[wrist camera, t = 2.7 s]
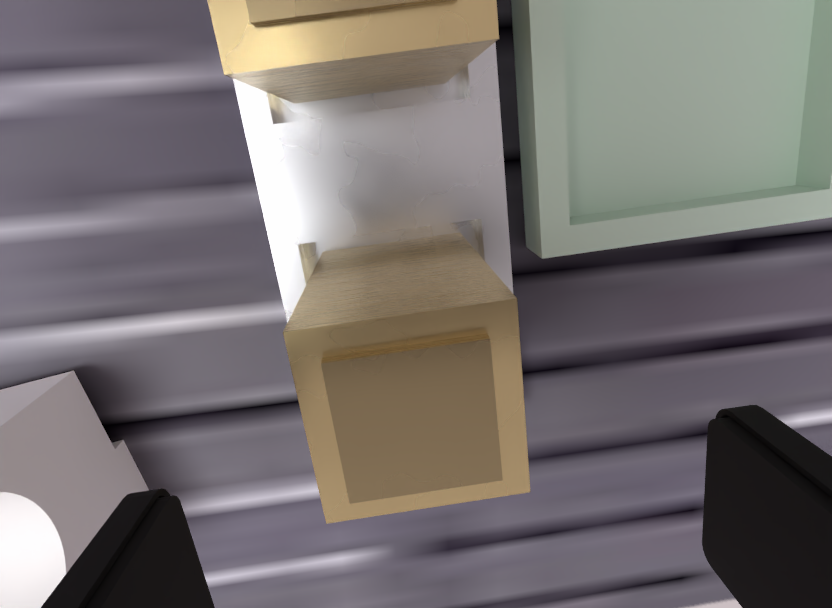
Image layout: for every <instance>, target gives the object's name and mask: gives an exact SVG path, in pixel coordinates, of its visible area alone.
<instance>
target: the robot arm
mask: <svg viewBox="0 0 832 608" xmlns="http://www.w3.org/2000/svg"><path fill="white" fill-rule="evenodd" d="M702 546H703V550H704V553H705V556H706V558H707V560H708V562H709V564H710V566H711V567H712V568H713V570H714V571H715V572H716V574H717V575H718V576H719V578H720V579H721V580H722V581H723V583H724V584H725V585H726V587H727V588H728V589H729V591H730V592H731V593H732V595H733V596H734V597H735V598H736V600H737V601H738V602H739V604H740V605H741V606H742V607H743V608H832V457H831V456H830V455H829V454H827V453H826V452H824V451H823V450H821V449H820V448H819V447H817V446H816V445H814V444H813V443H811V442H810V441H809V440H807V439H806V438H804V437H803V436H801V435H800V434H799V433H797V432H796V431H794V430H793V429H791V428H790V427H789V426H787V425H786V424H784V423H783V422H782V421H780V420H779V419H777V418H776V417H774V416H773V415H772V414H770V413H769V412H767V411H766V410H764V409H763V408H761V407H759V406H757V405H749V406H742V407H735V408H728V409H722V410H720V411H719V412H718V413H717V415H716V419H713V420H711V421H710V422H709V425H708V436H707V456H706V476H705V496H704V516H703V536H702ZM41 608H215V607H214V604H213V601H212V598H211V595H210V592H209V589H208V586H207V583H206V580H205V576H204V573H203V570H202V567H201V564H200V561H199V558H198V555H197V552H196V549H195V545H194V542H193V539H192V536H191V533H190V530H189V527H188V524H187V521H186V518H185V514H184V511H183V508H182V505H181V502H180V500H179V498H178V497H177V496H170V494H169V493H168V492H167V491H166V490H165V489H156V490H149V491H142V492H135V493H130V494H127V495H126V496H125V497H124V498H123V499H122V501H121V502H120V503H119V505H118V506H117V507H116V508H115V510H114V511H113V512H112V514H111V515H110V516H109V518H108V519H107V520H106V522H105V523H104V524H103V526H102V527H101V528H100V530H99V531H98V532H97V534H96V535H95V536H94V538H93V539H92V540H91V542H90V543H89V544H88V546H87V547H86V548H85V550H84V551H83V552H82V554H81V555H80V556H79V558H78V559H77V560H76V561H75V563H74V564H73V565H72V567H71V568H70V569H69V571H68V572H67V573H66V575H65V576H64V577H63V579H62V580H61V581H60V583H59V584H58V585H57V587H56V588H55V589H54V591H53V592H52V593H51V595H50V596H49V597H48V599H47V600H46V601H45V603H44V604H43V605H42V607H41Z"/></svg>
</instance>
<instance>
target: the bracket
mask: <svg viewBox="0 0 832 608" xmlns="http://www.w3.org/2000/svg"><path fill="white" fill-rule="evenodd" d="M142 491H149V489H148V487H147V485H146V483H145V481H144V479H143V477H142V475H141V473H140V471H139V469H138V468H137V466H136V464H135V462H134V460H133V458H132V456H131V454H130V452H129V450H128V448H127V446H126V444H125V442H124V440H120V441H116V442H113V443H111V441H110V439H109V437H108V435H107V433H106V431H105V429H104V427H103V425H102V424H101V422H100V420H99V418H98V416H97V414H96V412H95V410H94V408H93V406H92V404H91V403H90V401H89V399H88V397H87V395H86V393H85V391H84V389H83V387H82V385H81V383H80V381H79V380H78V378H77V376H76V374H75V372H74V371H70V372H66V373H62V374H59V375H55V376H51V377H47V378H43V379H39V380H36V381H32V382H28V383H24V384H20V385H17V386H13V387H9V388H5V389H1V390H0V608H41V607H42V605H43V604H44V603H45V601H46V600H47V599H48V597H49V596H50V595H51V593H52V592H53V591H54V589H55V588H56V587H57V585H58V584H59V583H60V581H61V580H62V579H63V577H64V576H65V575H66V573H67V572H68V571H69V569H70V568H71V567H72V565H73V564H74V563H75V561H76V560H77V559H78V558H79V556H80V555H81V554H82V552H83V551H84V550H85V548H86V547H87V546H88V544H89V543H90V542H91V540H92V539H93V538H94V536H95V535H96V534H97V532H98V531H99V530H100V528H101V527H102V526H103V524H104V523H105V522H106V520H107V519H108V518H109V516H110V515H111V514H112V512H113V511H114V510H115V508H116V507H117V506H118V505H119V503H120V502H121V501H122V499H123V498H124V497H125V496H126V495H127V494H130V493H135V492H142Z"/></svg>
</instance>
